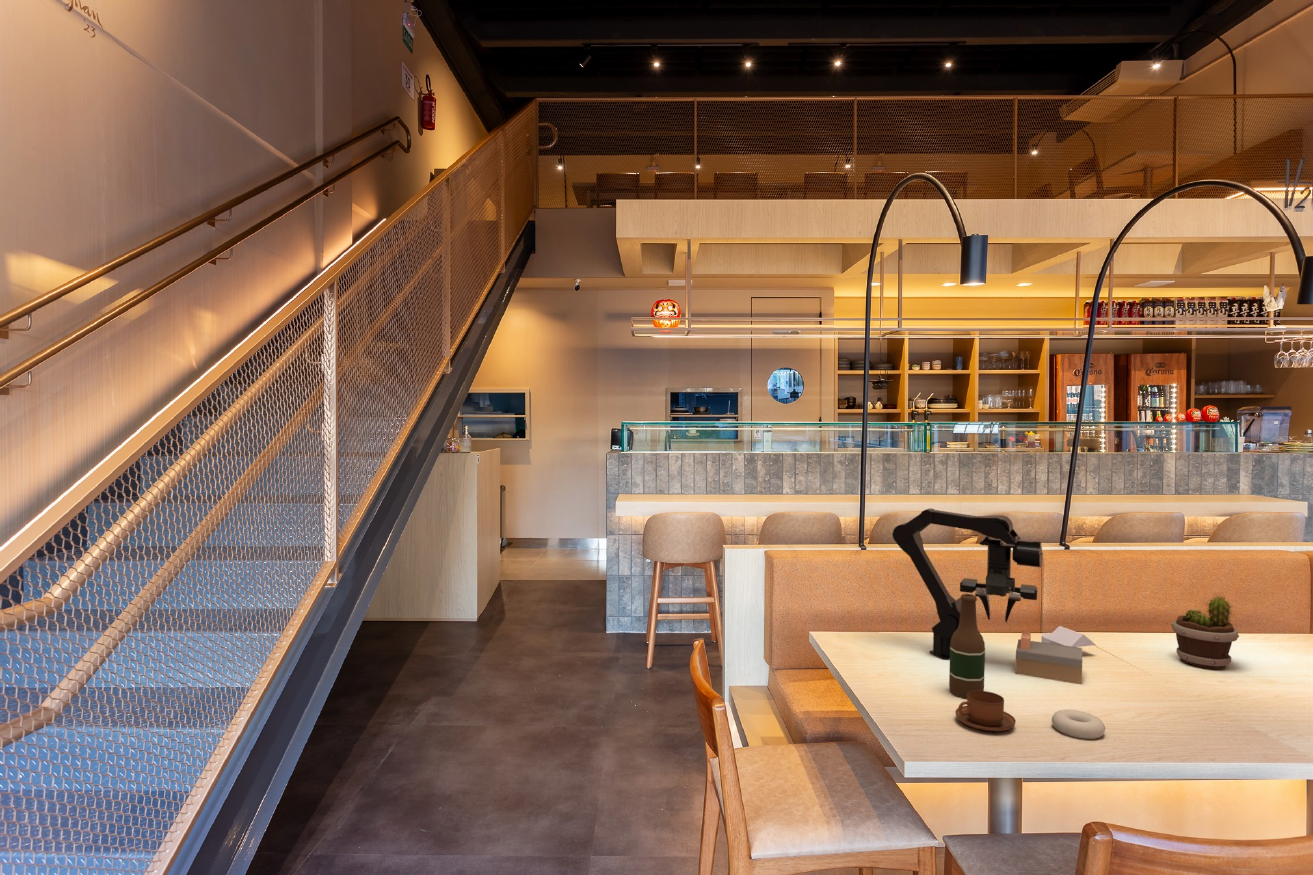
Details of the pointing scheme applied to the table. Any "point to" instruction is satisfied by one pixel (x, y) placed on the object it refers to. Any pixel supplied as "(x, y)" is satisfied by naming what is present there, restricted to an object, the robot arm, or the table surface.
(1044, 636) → the wedge on round base
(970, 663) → the beer bottle
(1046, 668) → the base
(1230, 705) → the table surface
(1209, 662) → the flowerpot
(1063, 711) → the donut
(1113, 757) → the table surface
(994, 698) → the cup and saucer
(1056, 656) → the lid
